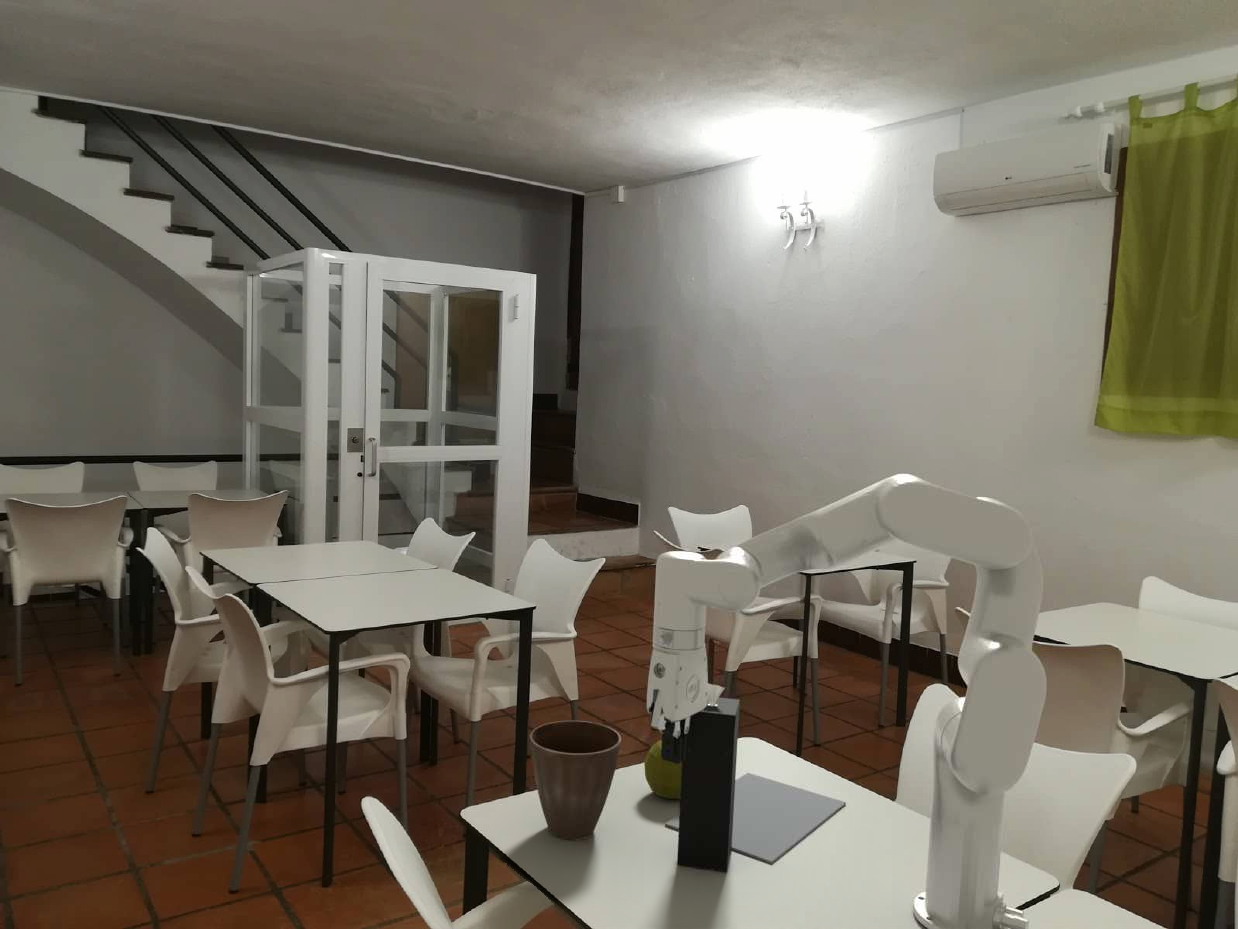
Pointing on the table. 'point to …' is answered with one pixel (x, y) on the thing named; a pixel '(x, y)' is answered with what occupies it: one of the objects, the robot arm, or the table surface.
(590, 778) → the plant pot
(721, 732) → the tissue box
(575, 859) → the table surface
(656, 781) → the apple
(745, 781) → the mat
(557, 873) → the table surface
